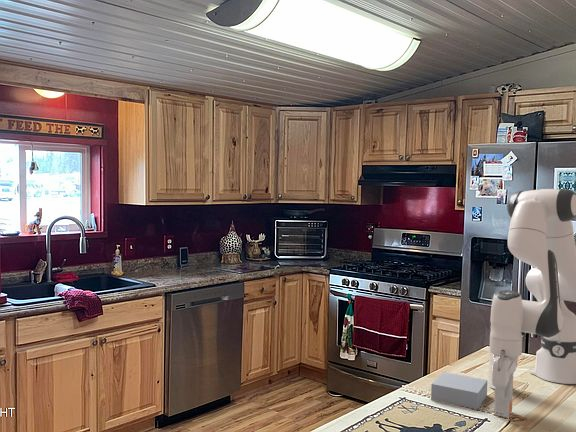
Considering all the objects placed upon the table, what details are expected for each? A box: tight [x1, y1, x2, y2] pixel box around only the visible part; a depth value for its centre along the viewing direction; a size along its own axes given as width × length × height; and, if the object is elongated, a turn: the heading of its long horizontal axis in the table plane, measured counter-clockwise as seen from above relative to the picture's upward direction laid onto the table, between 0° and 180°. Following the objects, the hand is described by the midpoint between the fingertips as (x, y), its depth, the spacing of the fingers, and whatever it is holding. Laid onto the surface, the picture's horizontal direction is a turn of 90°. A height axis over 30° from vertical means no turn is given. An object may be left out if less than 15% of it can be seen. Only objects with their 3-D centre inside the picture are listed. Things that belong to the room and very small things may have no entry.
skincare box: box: [493, 373, 514, 419], centre depth 160 cm, size 6×4×12 cm
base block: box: [430, 371, 488, 410], centre depth 172 cm, size 14×14×5 cm
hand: (504, 393), depth 160 cm, fingers closed on skincare box, 6 cm apart
